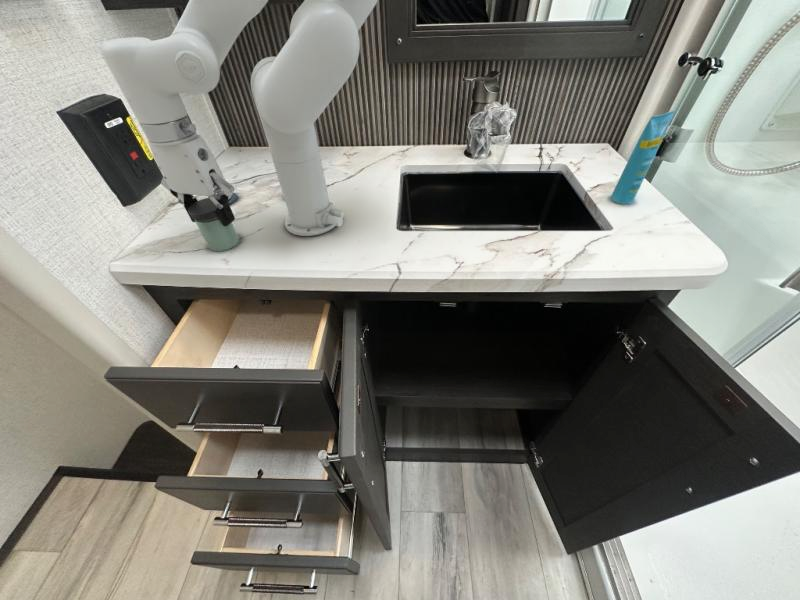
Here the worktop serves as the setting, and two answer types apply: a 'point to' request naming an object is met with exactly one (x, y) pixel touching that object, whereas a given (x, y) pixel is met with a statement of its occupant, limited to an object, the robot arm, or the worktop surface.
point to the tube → (641, 159)
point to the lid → (203, 210)
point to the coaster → (232, 200)
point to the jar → (218, 234)
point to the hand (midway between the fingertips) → (213, 220)
